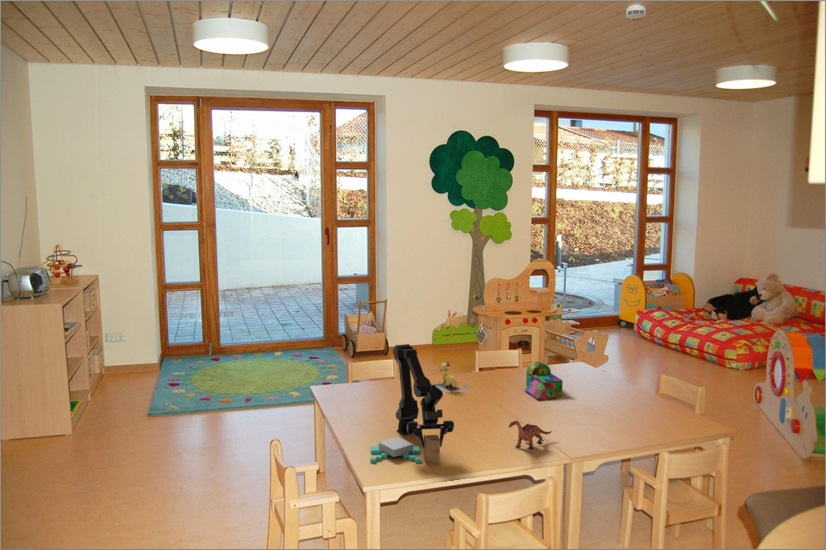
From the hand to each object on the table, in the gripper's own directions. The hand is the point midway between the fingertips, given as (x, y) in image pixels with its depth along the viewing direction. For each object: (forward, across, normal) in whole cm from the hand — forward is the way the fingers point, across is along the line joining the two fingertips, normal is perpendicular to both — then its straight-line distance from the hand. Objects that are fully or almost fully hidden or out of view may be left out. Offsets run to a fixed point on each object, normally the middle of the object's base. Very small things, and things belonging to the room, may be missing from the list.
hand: (432, 447), depth 261 cm
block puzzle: (-55, +73, +65) cm, 112 cm away
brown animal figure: (-4, +43, +14) cm, 45 cm away
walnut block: (+4, 0, +6) cm, 7 cm away
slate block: (-4, -13, +11) cm, 18 cm away
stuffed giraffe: (-63, +25, +73) cm, 100 cm away
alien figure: (-3, -14, +14) cm, 19 cm away
